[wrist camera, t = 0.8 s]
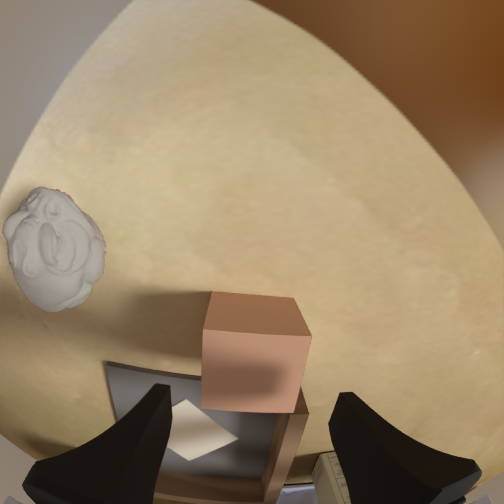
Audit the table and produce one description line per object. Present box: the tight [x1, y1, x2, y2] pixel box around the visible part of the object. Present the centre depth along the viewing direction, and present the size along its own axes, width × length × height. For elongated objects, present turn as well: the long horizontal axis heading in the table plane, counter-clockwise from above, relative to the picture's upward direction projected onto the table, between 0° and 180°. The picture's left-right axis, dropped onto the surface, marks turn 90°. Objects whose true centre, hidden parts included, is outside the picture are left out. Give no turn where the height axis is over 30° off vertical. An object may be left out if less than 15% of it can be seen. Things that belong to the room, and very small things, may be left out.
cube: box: [201, 291, 312, 413], centre depth 16 cm, size 5×5×5 cm
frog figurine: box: [2, 187, 106, 313], centre depth 13 cm, size 6×7×7 cm
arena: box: [106, 361, 309, 504], centre depth 18 cm, size 14×14×4 cm
